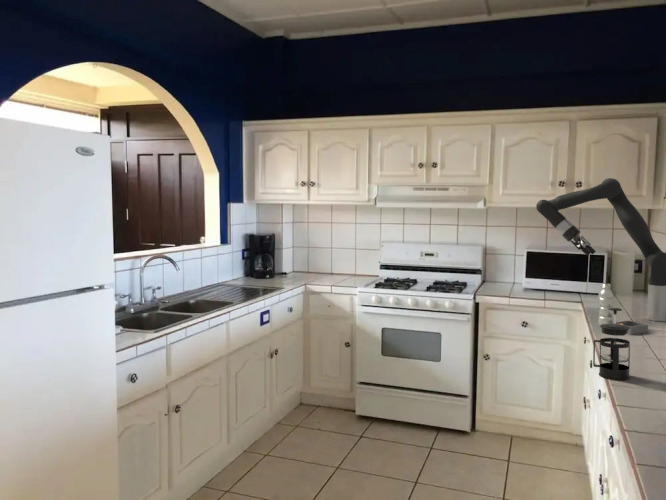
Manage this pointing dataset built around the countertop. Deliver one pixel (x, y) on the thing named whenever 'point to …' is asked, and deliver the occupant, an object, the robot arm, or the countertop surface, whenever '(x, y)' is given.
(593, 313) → the countertop surface
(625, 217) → the robot arm
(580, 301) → the countertop surface
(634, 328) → the socket collar
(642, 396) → the countertop surface
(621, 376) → the french press
